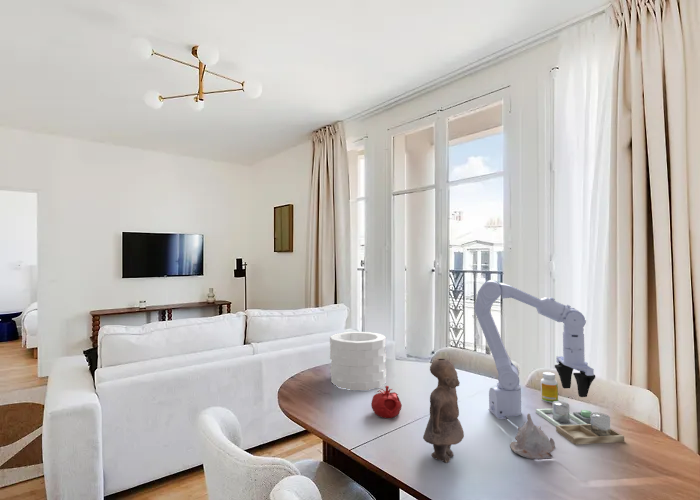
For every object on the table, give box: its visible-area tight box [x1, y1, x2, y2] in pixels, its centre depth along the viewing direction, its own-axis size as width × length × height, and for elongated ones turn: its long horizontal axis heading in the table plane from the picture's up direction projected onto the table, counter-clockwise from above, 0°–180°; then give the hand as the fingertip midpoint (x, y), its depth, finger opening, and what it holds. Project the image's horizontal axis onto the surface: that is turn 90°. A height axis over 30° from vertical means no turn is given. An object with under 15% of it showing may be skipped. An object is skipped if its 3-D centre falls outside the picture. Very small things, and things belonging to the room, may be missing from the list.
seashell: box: [509, 413, 556, 460], centre depth 101 cm, size 10×12×9 cm
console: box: [572, 411, 591, 424], centre depth 117 cm, size 5×5×2 cm
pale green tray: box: [535, 408, 587, 427], centre depth 117 cm, size 9×13×2 cm
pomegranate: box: [370, 385, 403, 419], centre depth 125 cm, size 10×10×9 cm
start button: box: [580, 409, 593, 418], centre depth 117 cm, size 3×3×2 cm
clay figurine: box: [422, 358, 465, 464], centre depth 98 cm, size 13×10×25 cm
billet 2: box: [590, 412, 611, 436], centre depth 107 cm, size 5×5×6 cm
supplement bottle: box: [540, 371, 559, 404], centre depth 136 cm, size 5×5×10 cm
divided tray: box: [555, 424, 625, 445], centre depth 106 cm, size 14×8×2 cm, turn 94°
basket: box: [329, 331, 387, 391], centre depth 161 cm, size 25×24×19 cm
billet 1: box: [551, 400, 571, 424], centre depth 117 cm, size 5×5×6 cm
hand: (574, 392), depth 117 cm, fingers open, 7 cm apart
